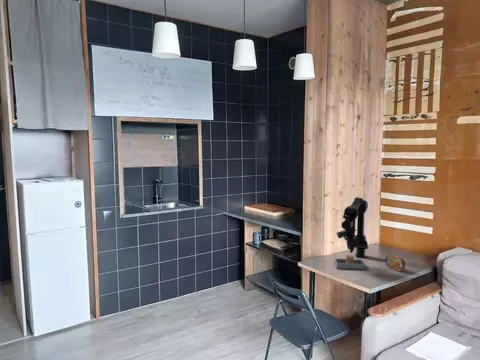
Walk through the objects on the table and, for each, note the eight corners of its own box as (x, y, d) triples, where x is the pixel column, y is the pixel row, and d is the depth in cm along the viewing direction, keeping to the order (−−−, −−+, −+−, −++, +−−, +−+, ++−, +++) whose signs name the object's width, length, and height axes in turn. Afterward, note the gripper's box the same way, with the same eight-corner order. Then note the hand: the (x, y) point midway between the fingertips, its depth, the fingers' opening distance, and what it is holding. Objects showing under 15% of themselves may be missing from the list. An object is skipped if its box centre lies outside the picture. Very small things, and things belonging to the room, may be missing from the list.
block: (345, 264, 242) (346, 255, 241) (352, 264, 241) (352, 255, 241) (346, 266, 238) (347, 256, 237) (353, 266, 237) (353, 257, 237)
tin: (384, 266, 242) (384, 253, 241) (388, 265, 243) (388, 252, 242) (401, 273, 228) (402, 259, 227) (405, 272, 229) (406, 259, 228)
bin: (334, 263, 246) (334, 258, 245) (361, 264, 244) (361, 259, 243) (336, 268, 235) (336, 263, 235) (365, 270, 233) (365, 264, 233)
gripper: (335, 223, 247) (335, 246, 249) (339, 229, 229) (339, 254, 230) (352, 224, 246) (352, 247, 247) (358, 230, 228) (357, 255, 229)
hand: (349, 250), depth 238 cm, fingers open, 9 cm apart
